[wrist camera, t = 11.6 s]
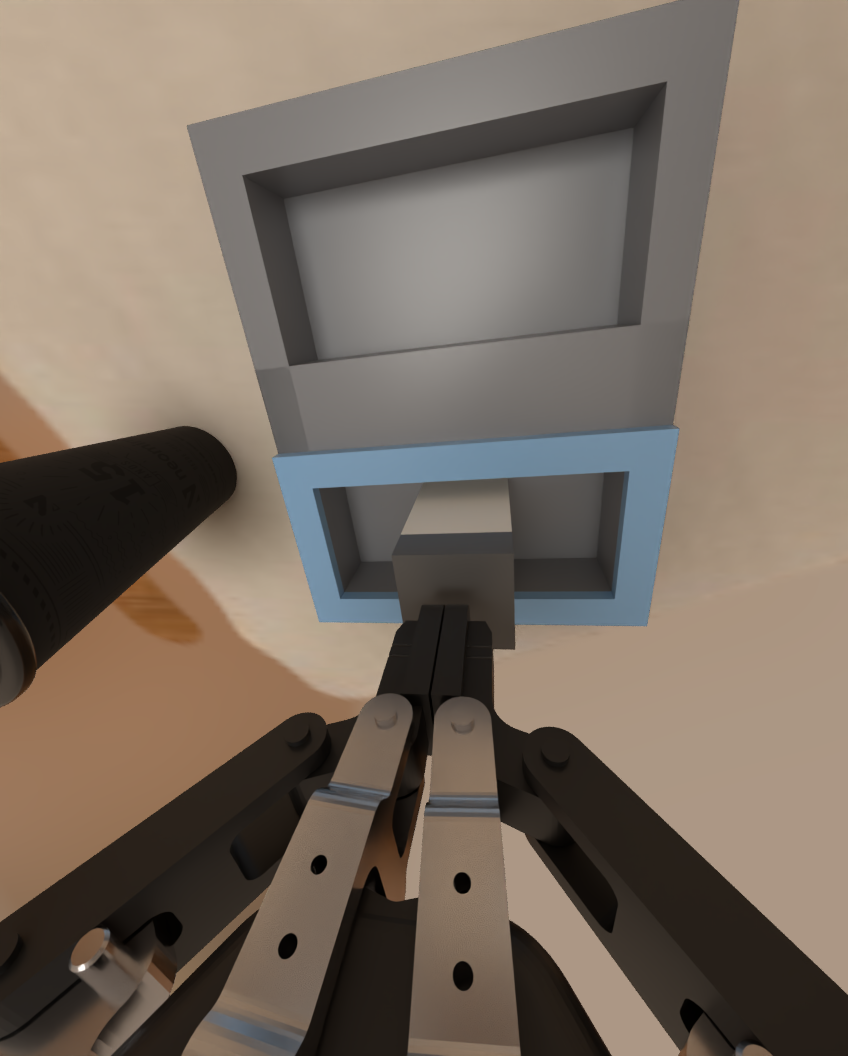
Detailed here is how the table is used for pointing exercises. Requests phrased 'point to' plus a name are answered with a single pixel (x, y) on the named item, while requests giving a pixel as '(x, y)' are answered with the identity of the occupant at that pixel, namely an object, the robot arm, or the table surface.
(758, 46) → the table surface
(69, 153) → the table surface
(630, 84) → the divided storage tray
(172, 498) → the drinking cup
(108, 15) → the table surface
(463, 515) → the gray rectangular block
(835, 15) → the table surface
